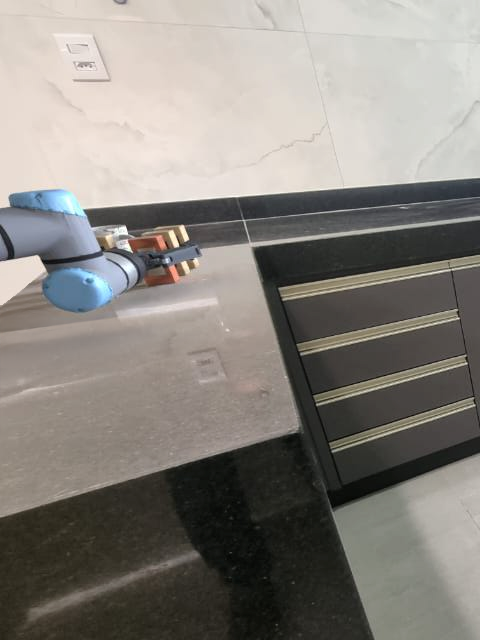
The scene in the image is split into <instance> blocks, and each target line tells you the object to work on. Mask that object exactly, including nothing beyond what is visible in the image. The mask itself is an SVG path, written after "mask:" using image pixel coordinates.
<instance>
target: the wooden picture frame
mask: <svg viewBox="0 0 480 640" xmlns="http://www.w3.org/2000/svg"><path fill="white" fill-rule="evenodd" d="M156 235H162V238H163V240H164V242H165V245H166V247H167V249H171V248H175V247H179V245H180V244H182V243H184V242H186V241H188V240H190V238H189V236H188V233H187V231H186V228H185V225H184V224H177V225H167V226H158V227H155V228H153V231H146V232H143V233H141V234H140V237H146V236H156ZM194 259H195V260H187V261H184V262H181V263H178V264H174V266H175V268H176V271H177V273H178V275H179V277H181V276H187V275H189V274H190V273H191V270H190V269H197V268H198V267H200V262H199V260H198V257H197V258H194Z"/></svg>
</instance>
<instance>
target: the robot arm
mask: <svg viewBox="0 0 480 640" xmlns="http://www.w3.org/2000/svg"><path fill="white" fill-rule="evenodd" d="M7 199H8V202H9V206H5V207H0V263H1V262H7V261H12V260H19V259H24V258H29V257H35V256H38V257H39V259H40V261H41V264H42V265H43V267H44V269H45V271H46V272H47V274H48V275H46V276H45V277H44V279H43V280H42V284H41V292H42V294H43V296H44V298H45V299H46V300H47V302H49V303H50V304H51V305H52V306H54V307H56V308H58V309H59V310H62V311H66V312H69V313H87V312H88V313H89V312H91V311H94V310H96V309H98V308H102V307H104V306H107V305H108V304H109V303H111V301H112V300H114V299H119V298H120V297H121V296H120V295H122V294H124V293H126V292H127V291H128V290H130V289H132V288H134V287H136V286H137V285H139V284H141V283H142V282H143V280H145V276H146V272H147V271H148V270H151V269H155V268H159V267H160V266H161V265H162V267H163V268H168V267H170V266H172V265H174V264H178V263H181V262H184V261H187V260H195V259H194V258H197V259H198V258H202V256H203V254H202V251H201V250H200V247H199V245H198V244H195V242H194V241H195V240H194V239H189V240H188V241H186V242H184V243H182V244H180V245H179V247H175V248H171V249H166V250H162V251H157V252H154V251H145V252H140V253H132V252H130V251H127V250H124V249H118V247H113V248H110V249H107V250H104V251H102V250H101V248H100V246H99V244H98V242H97V239H96V237H95V235H94V233H93V230H92V228H93V227H92V226H91V224H90V221H89V218H88V216H87V214H86V213H85V211H84V208H82V205H81V203H80V202H79V201H78V200H77V197H76V195H74V193H73V192H71V191H69V190H67V189H60V188H57V189H56V188H55V189H52V188H51V189H40V190H28V191H21V192H13V193H10V194H9V195H8V198H7ZM144 255H148V256H149V257H147V256H144Z"/></svg>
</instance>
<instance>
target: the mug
mask: <svg viewBox="0 0 480 640" xmlns="http://www.w3.org/2000/svg"><path fill="white" fill-rule="evenodd" d="M91 228H92V230H93V233H94V235H95V236H98V235H109V234H111V235H112V237H113V239H114V241H115V243H116V246H117V247H118V249H124V250H127V251H130V252H132V250H131V248H130V245H129V243H128V241H127V240H129V239H131V238H136V237H135V236H133V235H131V234H129V233H128V230H127V229H128V228H127V226H126V224H111V225H102V226H94V227H91ZM132 253H133V252H132Z"/></svg>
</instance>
